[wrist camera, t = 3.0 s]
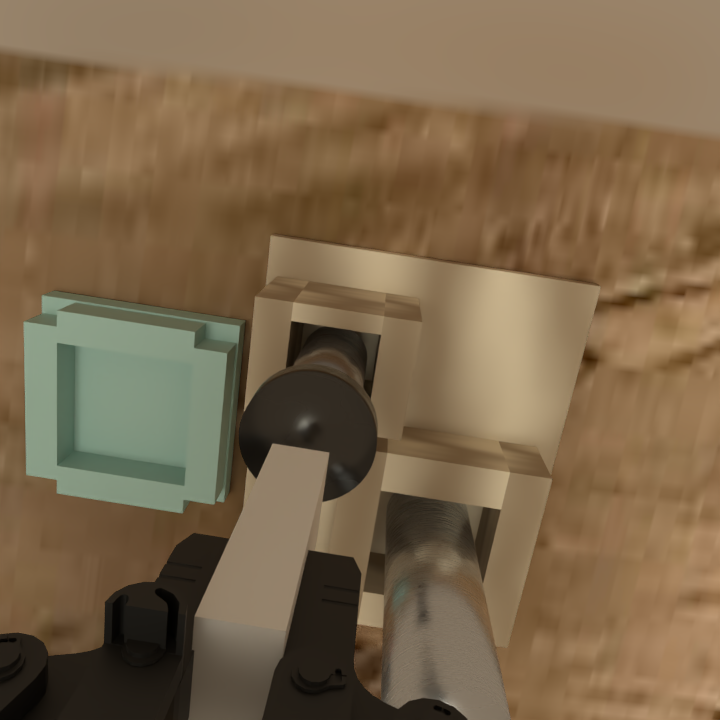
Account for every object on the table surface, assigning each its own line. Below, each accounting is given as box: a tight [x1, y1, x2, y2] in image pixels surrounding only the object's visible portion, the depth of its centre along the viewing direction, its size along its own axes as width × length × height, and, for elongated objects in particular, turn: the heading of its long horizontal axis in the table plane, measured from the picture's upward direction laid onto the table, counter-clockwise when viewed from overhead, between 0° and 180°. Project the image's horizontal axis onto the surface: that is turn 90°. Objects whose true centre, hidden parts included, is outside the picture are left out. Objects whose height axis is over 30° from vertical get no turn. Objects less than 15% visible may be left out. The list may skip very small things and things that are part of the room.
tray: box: [24, 291, 245, 513], centre depth 33 cm, size 10×10×3 cm
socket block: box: [243, 234, 601, 648], centre depth 31 cm, size 16×20×6 cm
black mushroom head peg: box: [239, 326, 378, 502], centre depth 24 cm, size 4×4×9 cm
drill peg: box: [381, 493, 511, 720], centre depth 28 cm, size 4×4×14 cm
